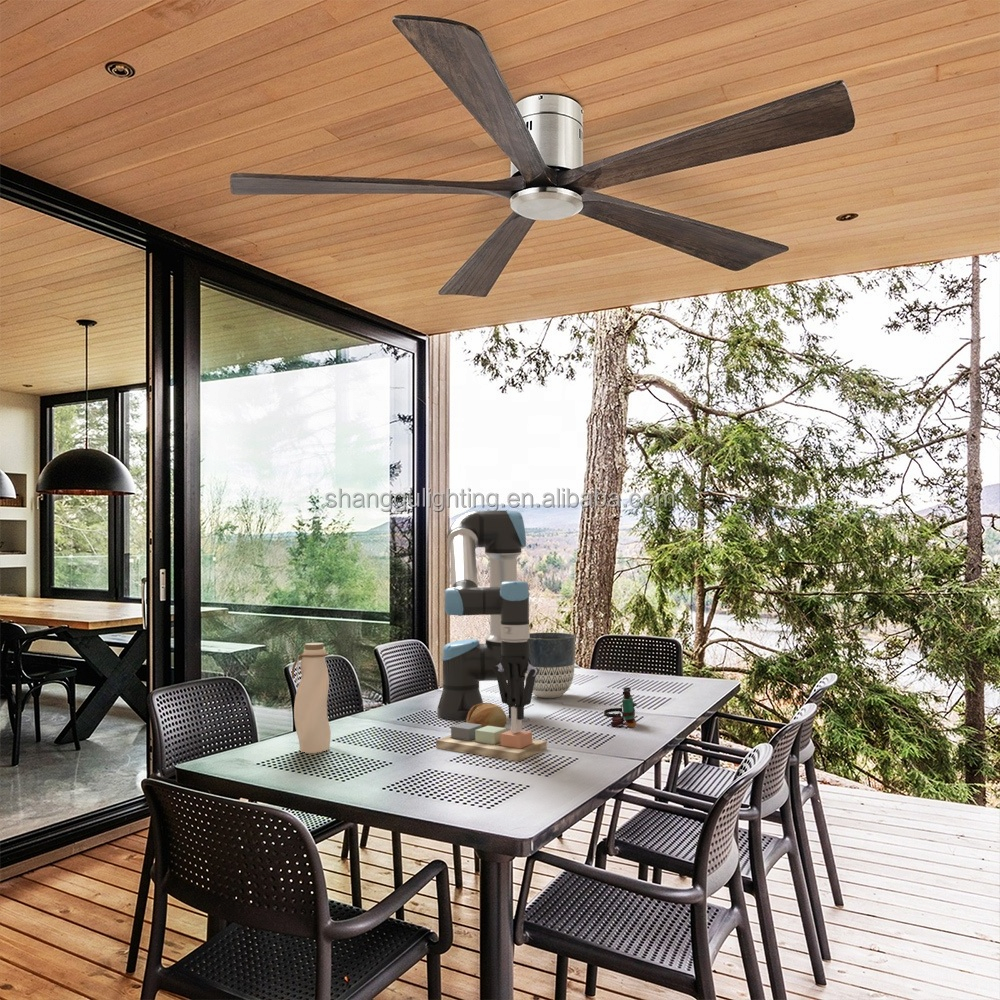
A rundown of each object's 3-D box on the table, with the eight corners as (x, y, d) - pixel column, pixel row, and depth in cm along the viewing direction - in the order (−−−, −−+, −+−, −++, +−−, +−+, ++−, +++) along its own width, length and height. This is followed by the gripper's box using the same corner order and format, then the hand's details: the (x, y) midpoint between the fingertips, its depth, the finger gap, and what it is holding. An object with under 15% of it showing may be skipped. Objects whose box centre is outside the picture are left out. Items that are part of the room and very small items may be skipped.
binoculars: (602, 688, 243) (635, 686, 241) (606, 723, 242) (639, 721, 240) (599, 694, 234) (634, 691, 232) (604, 730, 233) (638, 728, 231)
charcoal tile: (451, 737, 215) (451, 726, 215) (464, 733, 220) (464, 722, 220) (469, 740, 212) (469, 729, 212) (482, 735, 217) (481, 724, 217)
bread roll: (457, 735, 227) (456, 706, 228) (487, 724, 240) (486, 697, 240) (484, 739, 222) (484, 710, 222) (513, 728, 234) (513, 701, 235)
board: (436, 747, 213) (436, 740, 213) (466, 736, 225) (466, 729, 225) (518, 761, 199) (518, 753, 199) (546, 748, 210) (546, 741, 210)
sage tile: (475, 741, 211) (475, 730, 211) (488, 736, 216) (488, 725, 216) (494, 744, 208) (494, 732, 208) (506, 739, 213) (506, 728, 213)
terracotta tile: (500, 745, 206) (500, 733, 207) (513, 740, 212) (512, 729, 212) (520, 748, 203) (520, 736, 203) (532, 743, 208) (532, 731, 208)
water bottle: (296, 756, 206) (296, 647, 207) (288, 748, 213) (288, 643, 215) (335, 751, 210) (335, 644, 212) (326, 744, 218) (326, 641, 220)
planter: (585, 694, 283) (584, 634, 284) (560, 704, 267) (558, 640, 268) (538, 690, 293) (537, 631, 295) (510, 699, 277) (509, 637, 278)
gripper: (486, 640, 209) (487, 731, 208) (529, 643, 202) (530, 737, 201) (502, 637, 215) (503, 726, 214) (544, 640, 208) (545, 731, 207)
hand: (516, 731), depth 207 cm, fingers closed
